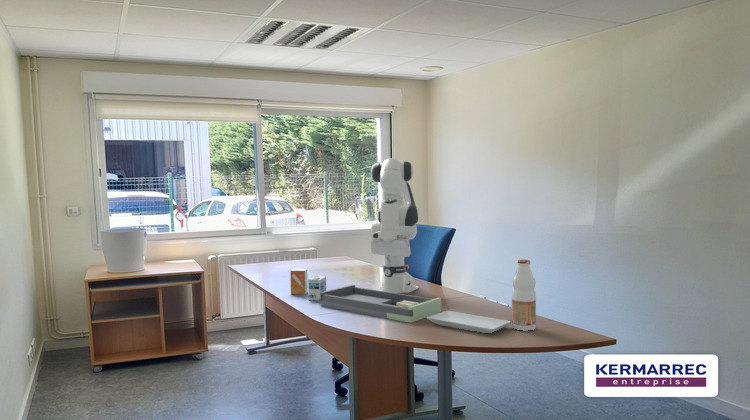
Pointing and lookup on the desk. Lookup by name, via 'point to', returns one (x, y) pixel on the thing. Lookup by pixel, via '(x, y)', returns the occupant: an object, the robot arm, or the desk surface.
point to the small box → (299, 281)
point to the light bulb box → (316, 287)
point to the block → (405, 304)
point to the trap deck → (380, 303)
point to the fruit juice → (523, 298)
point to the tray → (468, 321)
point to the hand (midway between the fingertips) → (390, 265)
